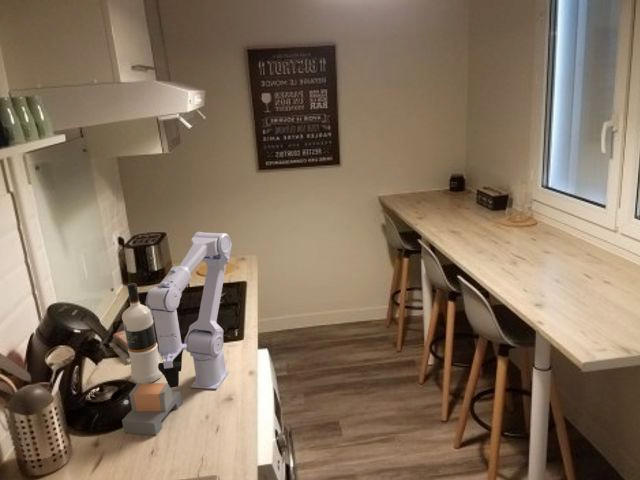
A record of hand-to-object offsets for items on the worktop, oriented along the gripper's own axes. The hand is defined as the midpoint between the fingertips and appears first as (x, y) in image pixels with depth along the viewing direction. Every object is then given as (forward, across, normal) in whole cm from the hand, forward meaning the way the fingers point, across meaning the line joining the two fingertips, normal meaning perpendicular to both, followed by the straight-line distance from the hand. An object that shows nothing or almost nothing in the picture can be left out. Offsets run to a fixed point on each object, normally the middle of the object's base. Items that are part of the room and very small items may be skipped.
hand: (175, 378), depth 137 cm
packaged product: (+10, +39, +19) cm, 45 cm away
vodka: (+10, +20, +12) cm, 25 cm away
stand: (+9, -2, +7) cm, 12 cm away
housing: (+6, -2, +6) cm, 9 cm away
